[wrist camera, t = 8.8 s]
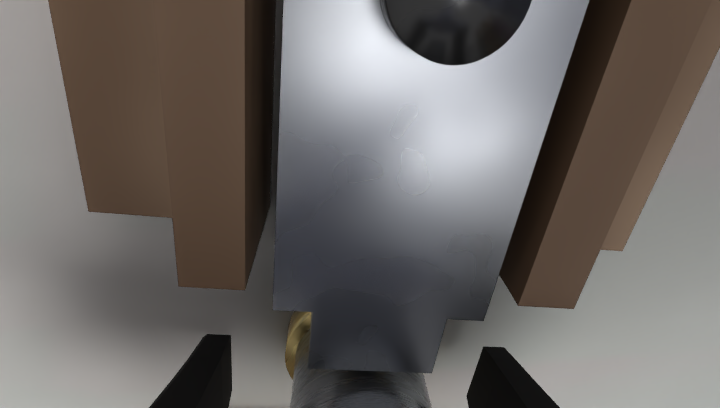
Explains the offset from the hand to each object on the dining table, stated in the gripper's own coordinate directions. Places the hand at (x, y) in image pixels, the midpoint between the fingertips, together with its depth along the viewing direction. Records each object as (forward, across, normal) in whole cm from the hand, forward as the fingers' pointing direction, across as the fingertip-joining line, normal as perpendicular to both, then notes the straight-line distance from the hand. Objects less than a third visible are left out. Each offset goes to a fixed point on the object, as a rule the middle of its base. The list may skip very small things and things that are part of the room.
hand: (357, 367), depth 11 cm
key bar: (+1, 0, -7) cm, 7 cm away
